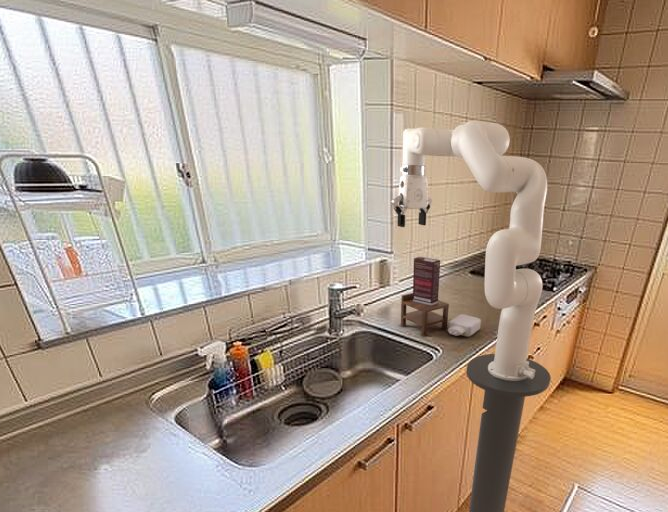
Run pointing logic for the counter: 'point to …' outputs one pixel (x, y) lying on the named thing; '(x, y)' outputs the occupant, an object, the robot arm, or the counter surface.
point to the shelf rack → (423, 313)
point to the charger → (464, 325)
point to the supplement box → (426, 280)
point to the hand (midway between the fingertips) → (411, 225)
